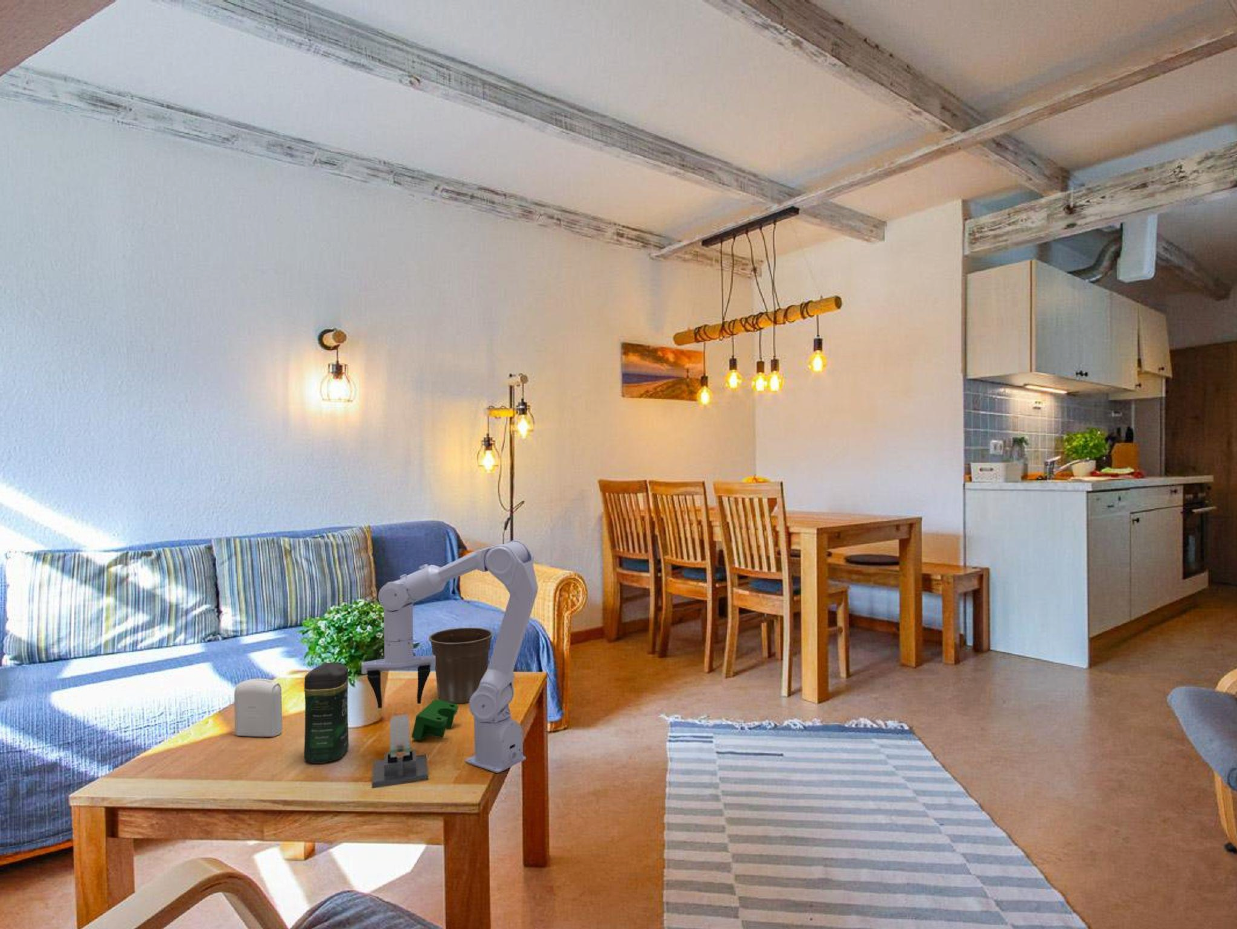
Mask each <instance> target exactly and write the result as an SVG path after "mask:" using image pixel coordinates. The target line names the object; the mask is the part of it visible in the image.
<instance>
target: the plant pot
mask: <svg viewBox="0 0 1237 929" xmlns="http://www.w3.org/2000/svg"><path fill="white" fill-rule="evenodd" d="M493 635H494V632H493V631H491V630H489V629H487V628H482V627H458V628H456V627H455V628H448V629H444V630H439V631H436V632H434V633H432V634H431V635H429V636H428V640H429V642H430V645H431V653H432V655H433V656H434V655H435V659H436V667H434V670H435V671H434V672H435V679H436V689H437V699H439V700H442V701H446V702H449V703H453V704H456V705H458V704H467V703H468V704H469V701H470V698H471V696H472V695H473V693H474V692H475V691H476V690H477V689H478V687H479V684H480V681H481V679H482V678H483V676H484V674H485V672H486V671H487V669H488V666H489V652H490V650H491V644H492V637H493Z"/></svg>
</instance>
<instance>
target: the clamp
mask: <svg viewBox="0 0 1237 929" xmlns="http://www.w3.org/2000/svg"><path fill="white" fill-rule="evenodd" d="M458 709H459V705H458V704H453V703H449V702H446V701H442V700H441V699H439V698H434V699H433V700H432V701H431V702H430V703H429V704H428V705H427V706H425V707H424V708H423V709H422V710H421V711H420V712H419V713H417V714H416V716H415V722H414V725H413V728H412V729H413V730H412V733H411V739H414V740H418V741H419V742H422V741H423V740H424V739H425V738H427V736H428V735H429V736H432V737H436V738H439V739H443V738H444V736H445V734H446V733H445V732H446V730H452V728H453V724H454V718H455V716H456V715H457V713H458Z"/></svg>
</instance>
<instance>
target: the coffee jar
mask: <svg viewBox="0 0 1237 929" xmlns="http://www.w3.org/2000/svg"><path fill="white" fill-rule="evenodd" d="M348 668H349V667H348V666H347V665H345V664H343V662H341V661H340V662H322V664H320V665H318V666H316V667H314V668H313V669H312V670H310V671H309V672H308V673H306V675H305V676H304V683H303V685H304V686H303V687H304V688H303V692H304V746H303V747H304V748H303V750H304V751H303V753H304V754H303V755H304V756H303V758H304V760H305V761H306V762H309V763H315V764H326V763H327V762H331V761H337V760H339V759H340V758H342V757H343V755H345V754H346V752H347V751H348V748H349V745H350V744H349V742H350V741H349V706H348V704H349V702H348V698H349V697H348V696H349V695H348V694H349V689H348V688H349V669H348Z"/></svg>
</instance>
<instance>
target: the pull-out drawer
mask: <svg viewBox="0 0 1237 929" xmlns="http://www.w3.org/2000/svg"><path fill="white" fill-rule="evenodd" d="M408 715H409V714H408V713H407V714H399V715H392V716H391V719H390V720H389V722H390V724H389V725H390V728H389V733H390V734H389V737H390V743H389V753H390V754H391V757H397V752H403V756H406V755H410V750H411V740H410V717H409V716H408Z"/></svg>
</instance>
